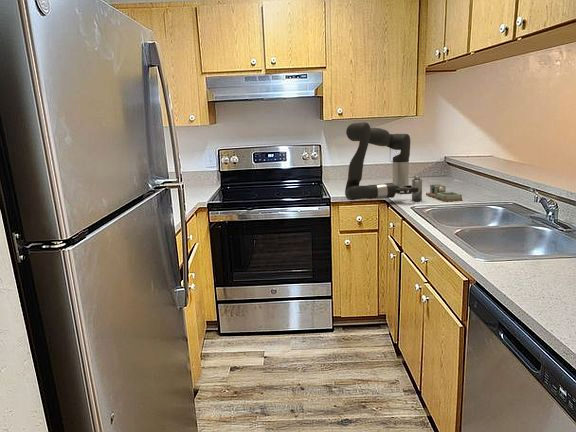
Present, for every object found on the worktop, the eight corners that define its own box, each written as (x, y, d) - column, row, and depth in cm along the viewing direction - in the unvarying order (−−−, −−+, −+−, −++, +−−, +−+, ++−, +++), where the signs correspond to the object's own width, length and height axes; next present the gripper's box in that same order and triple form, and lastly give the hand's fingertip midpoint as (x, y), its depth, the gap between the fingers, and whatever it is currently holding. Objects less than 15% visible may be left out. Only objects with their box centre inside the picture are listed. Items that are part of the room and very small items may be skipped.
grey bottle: (410, 200, 235) (410, 175, 233) (419, 199, 236) (419, 175, 233) (414, 202, 231) (414, 176, 228) (423, 201, 231) (423, 176, 228)
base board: (425, 195, 248) (425, 192, 247) (443, 193, 249) (443, 191, 248) (443, 201, 227) (443, 199, 227) (462, 200, 228) (462, 198, 228)
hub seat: (436, 196, 236) (436, 193, 235) (452, 195, 237) (453, 191, 236) (444, 199, 227) (444, 195, 227) (461, 198, 228) (461, 194, 228)
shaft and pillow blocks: (430, 192, 248) (430, 183, 247) (438, 191, 248) (438, 183, 247) (437, 195, 239) (437, 186, 238) (446, 194, 240) (446, 185, 239)
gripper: (389, 185, 222) (420, 183, 224) (379, 181, 236) (409, 179, 238) (389, 200, 224) (420, 198, 226) (379, 195, 238) (409, 193, 239)
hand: (414, 188), depth 232 cm, fingers open, 8 cm apart
